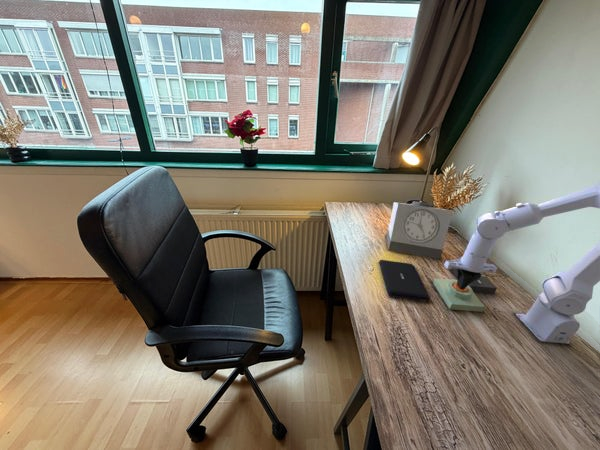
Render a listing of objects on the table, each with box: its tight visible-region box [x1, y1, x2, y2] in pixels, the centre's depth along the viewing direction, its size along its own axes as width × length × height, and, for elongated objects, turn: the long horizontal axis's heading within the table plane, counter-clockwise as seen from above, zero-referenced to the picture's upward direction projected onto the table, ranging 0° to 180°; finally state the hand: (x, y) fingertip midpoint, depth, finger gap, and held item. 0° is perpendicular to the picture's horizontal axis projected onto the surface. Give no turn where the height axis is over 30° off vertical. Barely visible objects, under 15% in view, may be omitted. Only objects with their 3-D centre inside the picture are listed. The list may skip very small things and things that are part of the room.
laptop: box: [378, 259, 431, 302], centre depth 86 cm, size 16×20×2 cm
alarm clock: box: [385, 200, 454, 260], centre depth 104 cm, size 20×16×20 cm
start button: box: [453, 283, 467, 292], centre depth 79 cm, size 4×4×2 cm
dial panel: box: [450, 268, 498, 294], centre depth 88 cm, size 12×9×3 cm
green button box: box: [432, 277, 486, 313], centre depth 80 cm, size 12×10×4 cm
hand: (460, 287), depth 79 cm, fingers closed, pressing on start button
